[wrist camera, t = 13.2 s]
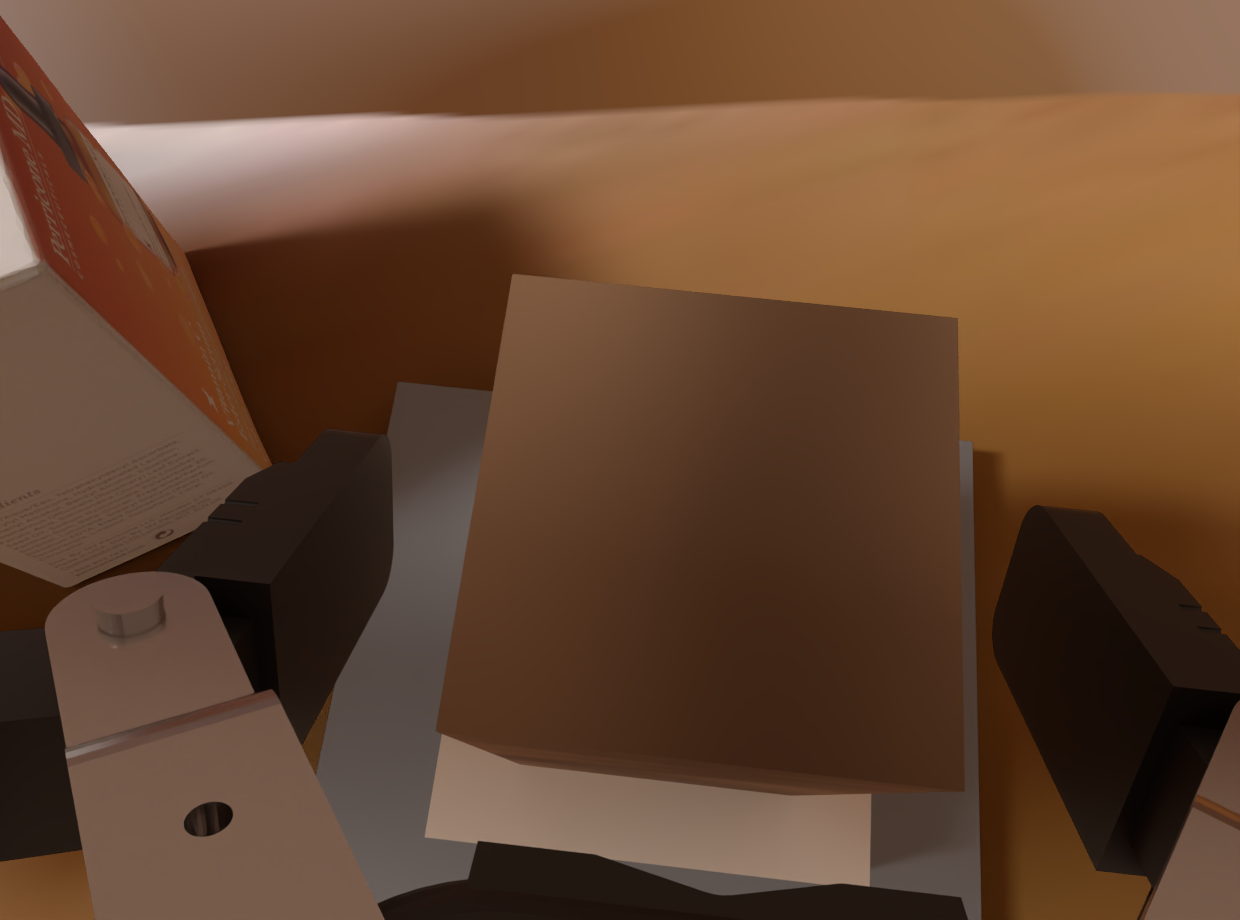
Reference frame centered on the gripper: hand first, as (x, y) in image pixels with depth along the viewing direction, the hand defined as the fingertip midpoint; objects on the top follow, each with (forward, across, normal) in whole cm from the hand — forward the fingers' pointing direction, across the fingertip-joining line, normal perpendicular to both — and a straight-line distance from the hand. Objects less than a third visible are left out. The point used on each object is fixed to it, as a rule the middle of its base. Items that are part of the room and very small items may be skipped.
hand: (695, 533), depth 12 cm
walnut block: (+4, 0, +5) cm, 7 cm away
